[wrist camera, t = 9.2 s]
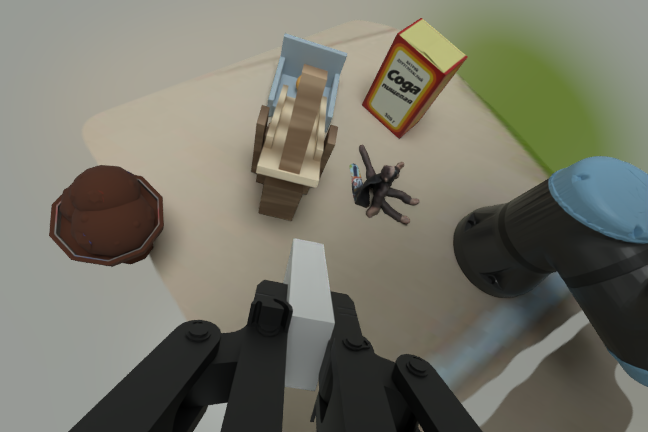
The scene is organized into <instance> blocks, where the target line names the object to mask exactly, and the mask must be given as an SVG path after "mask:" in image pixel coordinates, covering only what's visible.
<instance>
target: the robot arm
mask: <svg viewBox="0 0 648 432" xmlns="http://www.w3.org/2000/svg"><path fill="white" fill-rule="evenodd" d="M454 250H455V254H456V258H457V260H458V263H459V265H460V267H461V269H462V270H463V272H464V273H465V275H466V276H467V277H468V278H469V280H470V281H471V282H472V283H473V284H474V285H476V286H477V287H478V288H479V289H481V290H482V291H484V292H486V293H488V294H490V295H493V296H496V297H502V298H509V297H514V296H518V295H521V294H524V293H527V292H529V291H530V290H532V289H533V288H534V287H535V286H537V285H538V284H539V283H540V282H541V281H542V280H544V279H545V278H546V277H547V276H548V275H549V274H550V273H553V272H556V271H557V272H558V273H559V275H560V276H561V278H562V279H563V280H564V282H565V283H566V285H567V287H568V288H569V290H570V291H571V293H572V295H573V296H574V298H575V299H576V301H577V302H578V304H579V305H580V307H581V308H582V310H583V311H584V313H585V315H586V316H587V318H588V319H589V321H590V322H591V324H592V326H593V327H594V329H595V330H596V332H597V333H598V335H599V336H600V338H601V340H602V341H603V343H604V345H605V346H606V348H607V350H608V351H609V353H610V354H611V355H612V356H613V357H614V358H615V359H616V360H617V361H618V362H619V364H620V365H621V366H622V368H623V369H624V370H625V371H626V373H627V374H628V375H629V376H630V377H631V378H633V379H634V380H636V381H637V382H639V383H641V384H642V385H644V386H647V387H648V174H646V173H645V172H644V171H642V170H641V169H639V168H637V167H635V166H633V165H631V164H630V163H627V162H623V161H620V160H618V159H616V158H611V157H604V156H599V157H598V156H595V157H589V158H585V159H583V160H580V161H578V162H576V163H575V164H573V165H571V166H569V167H567V168H564V169H561V170H558V171H557V172H555V173H554V174H552V176H551V177H550V178H549V179H547V180H545V181H544V182H542V183H541V184H539V185H537V186H535V187H534V188H532V189H530V190H529V191H527V192H525V193H524V194H522V195H520V196H518V197H517V198H515V199H514V200H512V201H510V202H509V203H506V204H500V205H494V206H488V207H483V208H479V209H477V210H475V211H473V212H471V213H470V214H468V215H467V216H465V217H464V218H463V219H462V220H461V221H460V222H459V224H458V226H457V228H456V231H455V235H454ZM318 379H319V392H318V395H317V399H316V402H315V405H314V409H313V412H312V416H311V420H310V422H314V419H315V416H316V429H317V432H421V431H420V430H419V428H418V425H419V424H420V426H421V427H422V429H423V431H424V432H482V430H481V429H480V428H479V426H478V425H477V424H476V423H475V421H474V420H473V419H472V417H471V416H470V415H469V414H468V412H467V411H466V409H465V408H464V407H463V405H462V404H461V403H460V402H459V400H458V399H457V398H456V396H455V395H454V394H453V392H452V391H451V390H450V389H449V387H448V386H447V385H446V383H445V382H444V381H443V379H442V378H441V377H440V376H439V374H438V373H437V372H436V370H435V369H434V368H433V367H432V366H431V365H430V364H429V363H428V362H427V361H425V360H424V359H422V358H420V357H417V356H415V355H410V354H404V355H400V356H399V357H398V358H397V360H396V363H395V362H392V361H390V360H387V359H385V358H382V357H380V356H378V355H376V354H375V353H374V350H373V347H372V345H371V343H370V342H369V341H368V340H367V339H366V338H365V337H363V336H362V333H361V329H360V325H359V321H358V318H357V314H356V311H355V306H354V302H353V301H352V300H351V298H350V297H349V296H348V295H347V294H342V293H336V292H331V291H330V286H329V279H328V272H327V265H326V258H325V252H324V245H323V244H320V243H315V242H311V241H306V240H301V239H296V238H294V239H293V243H292V248H291V252H290V256H289V260H288V265H287V269H286V273H285V278H284V282H283V283H278V282H273V281H268V280H263V281H262V282H261V283H260V284H258V285H257V289H256V294H255V297H254V300H253V302H252V303H251V308H250V313H249V318H248V322H247V325H246V326H245V327H244V328H242V329H241V330H239V331H236V332H231V333H221V331H220V329H219V328H218V327H217V326H216V325H215V324H213V323H211V322H208V321H203V320H191V321H188V322H184V323H182V324H181V325H180V326H178V327H177V328H176V329H175V330H174V331H173V332H171V334H169V335H168V337H166V339H164V340H163V341H162V342H161V343H160V344H159V345H158V346H157V347H156V348H155V349H154V350H153V351H152V352H151V353H150V354H149V355H148V356H147V357H146V358H144V359H143V360H142V361H141V362H140V363H139V364H138V365H137V366H136V367H135V368H134V369H133V370H132V371H131V372H130V373H129V374H128V375H127V376H126V377H125V378H124V379H123V380H122V381H121V382H119V383H118V384H117V385H116V386H115V387H114V388H113V389H112V390H111V391H110V392H109V393H108V394H107V395H106V396H105V397H104V398H103V399H102V400H101V401H100V402H99V403H98V404H97V405H96V406H95V407H94V408H92V410H90V411H89V412H88V413H87V414H86V415H85V416H84V417H83V418H82V419H81V420H80V421H79V422H78V423H77V424H76V425H75V426H74V427H73V428H72V429H71V430H70V431H68V432H193V431H194V429H195V428H196V426H197V425H198V423H199V421H200V420H201V418H202V417H203V415H204V413H205V412H206V410H207V407H208V405H213V404H220V403H228V404H227V408H226V412H225V416H224V420H223V424H222V428H221V432H282V419H283V403H284V387H291V388H298V389H305V390H311V391H315V390H316V386H317V383H318Z"/></svg>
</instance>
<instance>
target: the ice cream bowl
mask: <svg viewBox="0 0 648 432" xmlns="http://www.w3.org/2000/svg"><path fill="white" fill-rule="evenodd" d="M163 226H164V222H163V198H162V196H161V195H160V194H159V193H158V192H157V191H156V190H155V189H154V188H153V187H152V186H151V185H150V184H149V183H148V182H147V181H146V180H145V179H144V178H143V177H142V176H137V175H134V174H132V173H130V172H128V171H126V170H124V169H123V168H121V167H117V166H105V165H99V166H96V167H93V168H89V169H87V170H85V171H84V172H83V173H82V174H80V175H79V176H78V177H77V178H76V179H75V180H74V182H73V183H72V184H71V185H70V186H69V187H68V188H66V189H64V191H63V194H62V195H61V196H60V197H59V198H58V199H57V200H56V201H55V202H54V203H53V204H52V208H51V220H50V233H49V236H50V237H51V238H52V239H53V240H54V241H55V243H56V244H57V245H58V246H59V247H60V248H61V249H62V250H63V251H64V252H65V253H66V254H67V256H68V257H69V258H70V259H71V260H75V261H80V262H86V263H93V264H99V265H105V266H112V267H113V266H115V265H118V264H120V263H126V264H133V263H135V262H138V261H140V260H143V259H145V258H146V257H147V255H148V254H149V253H150V251H151V250H152V249H153V242H154V241H155V240H156V238H157V237H158V236H159V234H160V233H161V232H162V230H163Z"/></svg>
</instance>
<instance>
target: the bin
mask: <svg viewBox="0 0 648 432" xmlns="http://www.w3.org/2000/svg"><path fill="white" fill-rule="evenodd" d="M346 57H347V53H345V52H342V51H339V50H336V49H332V48H329V47H326V46H323V45H320V44H317V43H314V42H311V41H307V40H304V39H301V38H298V37H295V36H292V35H289V34H284V39H283V45H282V51H281V57H280V60H279V64H278V67H277V71H276V74H275V78H274V81H273V85H272V88H271V92H270V95H269V99H268V105H267V107H270V109H269V115H268V116H269V117H271V116H273V115H274V112H275V109H276V105H277V102H278V99H279V96H280V93H281V90H282V87H283V84H284V85H288V86H289V87H288V91H287V96H289V97H292V98H296V94H297V89H296V81H297V79H298V77H299V76H301V74H302V70H303V66H304V64H307V65H310V66H313V67H316V68H319V69H323V70H326V71H328V75H327V82H326V85H325V89H324V92H323V96H325V97H327V105H326V119H325V132H327V130H328V127H329V125H330V122H331V120H332V117H333V111H334V105H335V100H336V94H337V88H338V82H339V77H340V73H341V70H342V68H343V65H344V62H345V60H346Z"/></svg>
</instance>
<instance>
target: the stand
mask: <svg viewBox="0 0 648 432" xmlns="http://www.w3.org/2000/svg"><path fill="white" fill-rule="evenodd" d="M269 109H270V107H267V106H263V105H262V107H261V110H260V114H259V117H258V121H257V125H256V134H255V143H254V152H253V161H252V170H251V172H254V173H256V170H257V165H258V162H259V159H260V156H261V153H262V150H263V147H264V144H265V141H266V136H267V133H268V130H269V127H270V124H271V123H269V125H268V126H267V122H268V115H269ZM337 130H338V127H337V126H334V125H331V126H330V128H329V130H328V133H327V135H326V138H325V140H324V147H323V153H322V156H321V161H320V173H319V178H320V176H321V174H322V172H323V170H324V168H325V165H326V163H327V161H328V159H329V157H330V155H331V153H332V150H333V148H334V146H335V142H336V136H337ZM256 182H258V183H262V184H264V186H263V191H262V197H261V202H260V207H259V213H260V214H264V215H269V216H273V217H277V218H281V219H286V220H290V221H292V218H293V216H294V213H295V211H296V209H297V206H298V204H299V201H300V199H301V197H302V194H306V195H307V193H308V190H309V188H310V186H306V185H302V184H298V183H294V182H290V181H286V180H283V179H279V178H275V177H271V176H267V175H263V174H259V173H257V179H256ZM313 188H314V187H313Z"/></svg>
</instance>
